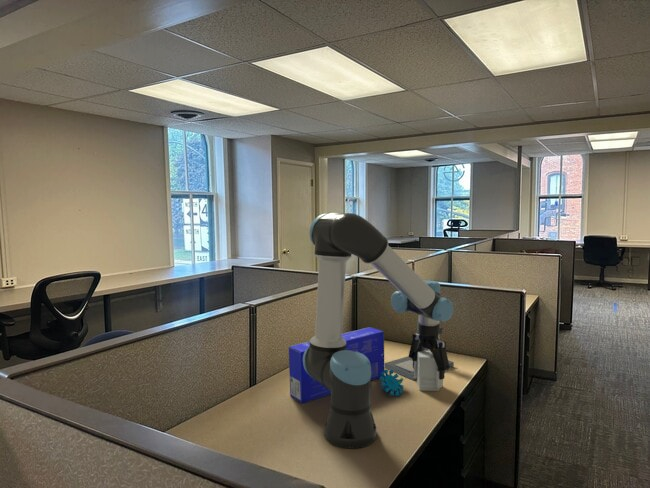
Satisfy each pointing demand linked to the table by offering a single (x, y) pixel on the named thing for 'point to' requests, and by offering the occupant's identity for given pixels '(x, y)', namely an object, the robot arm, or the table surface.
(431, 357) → the supplement box
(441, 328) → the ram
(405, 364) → the plate
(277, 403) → the table surface
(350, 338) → the toner cartridge box
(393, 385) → the gear
